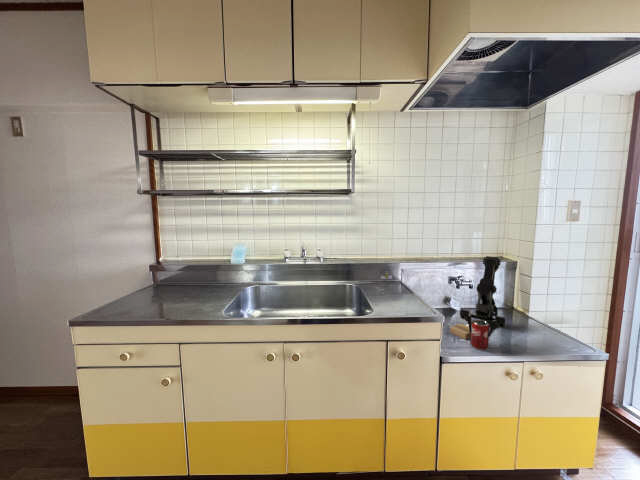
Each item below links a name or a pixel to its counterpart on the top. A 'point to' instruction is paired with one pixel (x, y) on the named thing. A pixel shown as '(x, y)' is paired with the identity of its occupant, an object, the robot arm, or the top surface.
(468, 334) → the base brick
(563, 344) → the top surface
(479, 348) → the soda can
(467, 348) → the top surface
